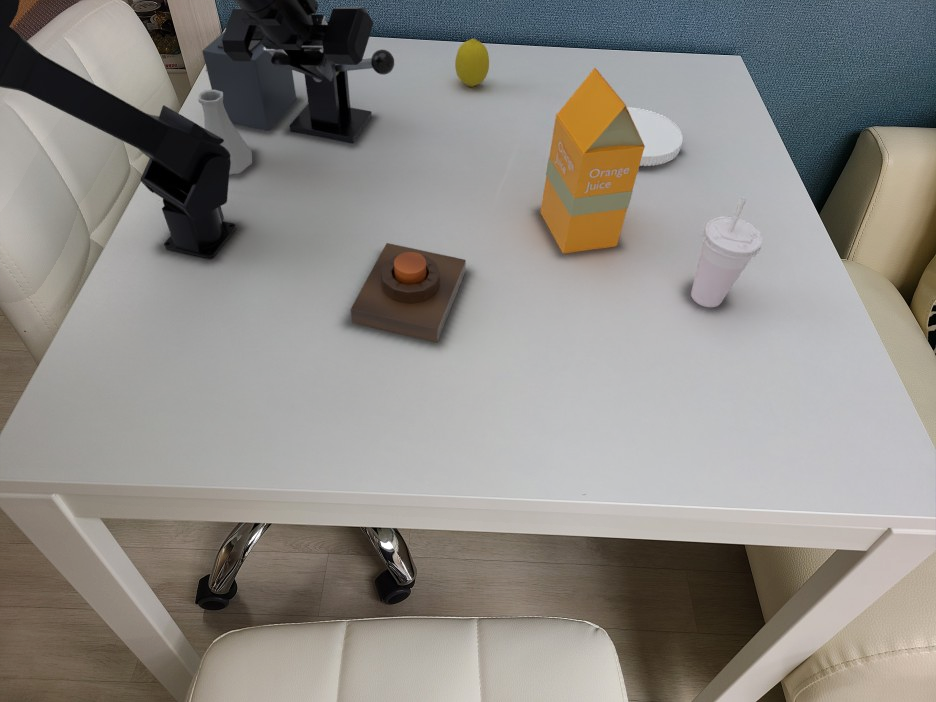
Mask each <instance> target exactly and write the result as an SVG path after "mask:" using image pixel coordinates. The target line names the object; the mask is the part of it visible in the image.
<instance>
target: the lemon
mask: <svg viewBox="0 0 936 702" xmlns="http://www.w3.org/2000/svg"><path fill="white" fill-rule="evenodd" d="M454 61H455V63H454V67H455V73H456V76H457V78H458V79H459V81H460V82H461V83H462V84H464V85H467V86H468V87H469V88H473V87H475V86H477V85H479V84H481V83H482V82H484V80H486V78H487V76H488V73H489V70H490V56H489V51H488V50H487V48H486V46H485V44H484V43H482V42H481V41H480V40H477V39H476V38H471V39H468V40H466V41H464V42H463V43H462V44H461V45H460V46H459V48H458V50H457V52H456V55H455V60H454Z"/></svg>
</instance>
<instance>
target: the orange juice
mask: <svg viewBox="0 0 936 702" xmlns="http://www.w3.org/2000/svg"><path fill="white" fill-rule="evenodd" d="M627 107H628V106H627V105H626V103H625V102H624V101H623V100H622V98H621V97H620V96H619V95H618V93H617V92H616V90H614V89H613V87H612V86H611V85H610V83H608V81H607V80H606V79H605V77H603V75H602V74H601V72H599V70H598V69H597V67H594V68H593V70H591V72H590V73H589V74H588V76H587V77H586V78H585V79H584V80H583V81H582V83H581V84H580V85H579V86H578V88H576V90H575V92H574V93H573V94H572V95H571V96H570V97H569V99H567V101H566V103H565V104H564V105H563V106H562V107H561V109H560V110H559V111H558V113H557V112H556V113H555V120H554V125H553V131H552V138H551V144H550V149H549V156H548V159H547V167H546V172H545V180H544V187H543V188H544V189H543V194H542V199H541V204H540V205H541V206H540V211H539V213H540V215H541V217H542V218H543V221H544V222H545V224H546V226H547V227H548V229H549V231H550V233H551V235H552V237H553V238H554V240H555V242H556V244H557V246H558V247H559V249H560V251H561V253H562V254H569V253H570V254H571V253H576V252H584V251H591V250H600V249H608V248H615V247H617V246H618V243H619V241H620V236H621V232H622V229H623V226H624V221H625V218H626V214H627V211H628V209H629V206H630V203H631V200H632V195H633V190H634V187H635V183H636V180H637V175H638V172H639V170H640V169H639V168H640V162H641V158H642V155H643V151H644V147H645V146H644V143H643V141H642V139H641V137H640V135H639V133H638V131H637V128H636V126H635V124H634V122H633V120H632V118H631V116H630V113H629V111H628V109H627Z"/></svg>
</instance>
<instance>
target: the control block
mask: <svg viewBox="0 0 936 702" xmlns="http://www.w3.org/2000/svg"><path fill="white" fill-rule="evenodd" d="M406 252H414V253H418V254H420V255H422V256H423V257H424V258H425V260H426V277H425V279H424V280H423V281H422V282H420V283H418V284H412V285H407V284H402V283H400V282H399V281H398V280H397V279H396V278H395V275H394V260H395V258H396V257H397V256H398V255H400V254H402V253H406ZM466 263H467V260H466V259H464V258H459V257H454V256H449V255H445V254H440V253H436V252H431V251H427V250H422V249H417V248H412V247H407V246H404V245H398V244H394V243H390V242H386V244H385V245H384V247H383V248H382V251H381V253H380V254H379V256H378V258H377V260H376V262H375V264H374V266H373V267H372V269H371V271H370V272H369V275H368V276H367V279H366V280H365V282H364V284H363V285H362V288H361V289H360V291H359V293H358V294H357V297H356V299H355V300H354V302H353V304H352V306H351V308H350V317H351V323H352V324H355V325H360V326H364V327H369V328H372V329H377V330H381V331H385V332H390V333H395V334H397V335H398V334H399V335H402V336H407V337H412V338H416V339H420V340H424V341H428V342H433V343H438V342H439V339H440V336H441V334H442V332H443V329H444V327H445V325H446V322H447V319H448V316H449V314H450V311H451V309H452V306H453V304H454V302H455V299H456V297H457V294H458V291H459V289H460V286H461V285H462V283H463V279H464V277H465V274H466Z"/></svg>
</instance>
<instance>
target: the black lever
mask: <svg viewBox="0 0 936 702" xmlns="http://www.w3.org/2000/svg"><path fill="white" fill-rule="evenodd" d="M330 62H331V61H330ZM332 63H333V62H332ZM394 68H395V58H394V56H393V54H392V53H391V52H390V51H389V50H387V49H378V50H376V51H375V52H373V54H372V56H371V57H370V58H363V59H362V61H361V62H360V63H359V64H357V65H337V64H335V71H336V76H337V75H338V73H339V72H340V71H347V72H350V71H359V70H360V71H361V70H370V69H373V71H374V72H375V73H377V74H378V75H382V76H383V75H385V76H386V75H388V74H390V73H391V72H392V71H393V69H394Z"/></svg>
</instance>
